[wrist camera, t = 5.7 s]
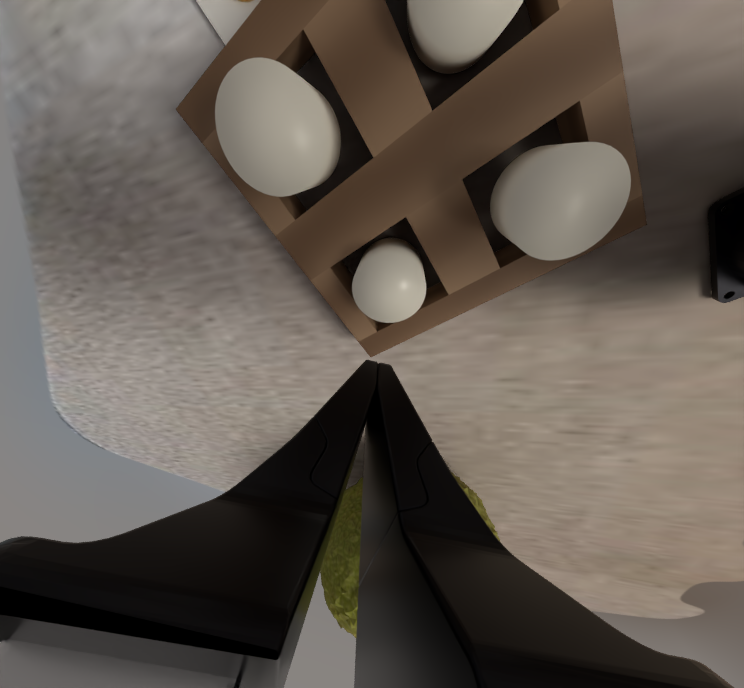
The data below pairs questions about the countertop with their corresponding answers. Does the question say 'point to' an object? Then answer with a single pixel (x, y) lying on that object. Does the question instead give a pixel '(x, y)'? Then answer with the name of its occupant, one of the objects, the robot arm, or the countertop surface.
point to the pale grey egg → (560, 198)
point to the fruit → (357, 555)
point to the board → (427, 143)
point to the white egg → (456, 30)
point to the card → (227, 15)
